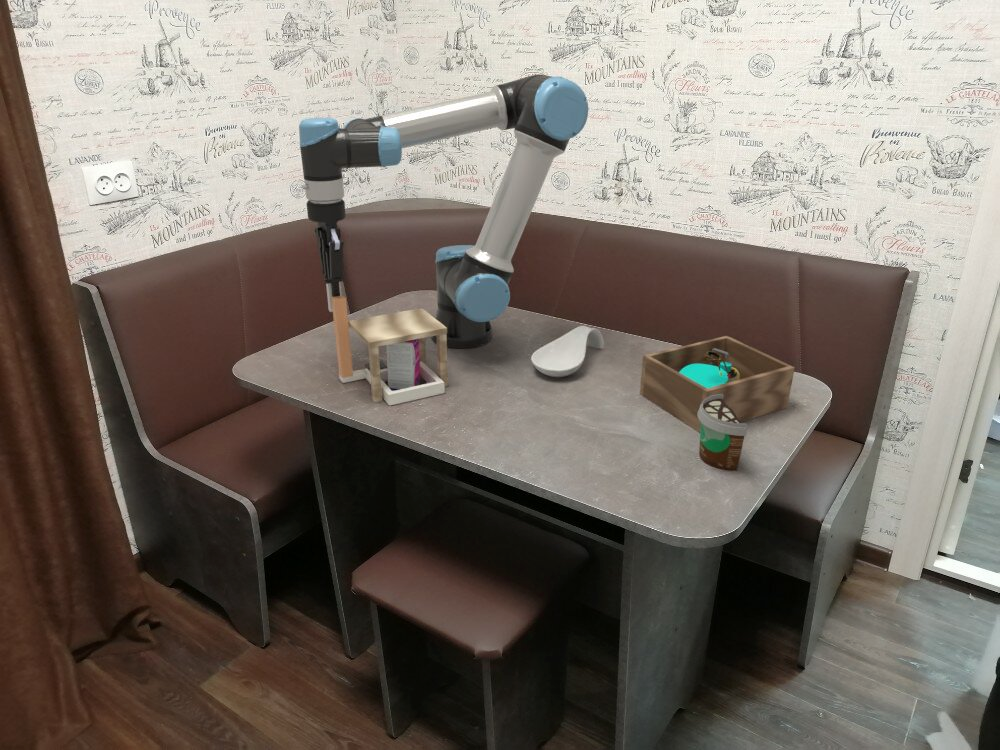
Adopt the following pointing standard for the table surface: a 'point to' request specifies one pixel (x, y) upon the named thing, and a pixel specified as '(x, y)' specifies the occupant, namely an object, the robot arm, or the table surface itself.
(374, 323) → the small wooden stool
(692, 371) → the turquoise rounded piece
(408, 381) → the supplement box
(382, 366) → the plate
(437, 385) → the sled
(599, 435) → the table surface
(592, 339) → the spoon rest
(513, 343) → the table surface
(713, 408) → the food container
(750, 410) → the teapot crate
